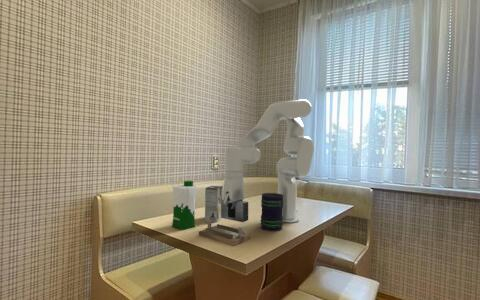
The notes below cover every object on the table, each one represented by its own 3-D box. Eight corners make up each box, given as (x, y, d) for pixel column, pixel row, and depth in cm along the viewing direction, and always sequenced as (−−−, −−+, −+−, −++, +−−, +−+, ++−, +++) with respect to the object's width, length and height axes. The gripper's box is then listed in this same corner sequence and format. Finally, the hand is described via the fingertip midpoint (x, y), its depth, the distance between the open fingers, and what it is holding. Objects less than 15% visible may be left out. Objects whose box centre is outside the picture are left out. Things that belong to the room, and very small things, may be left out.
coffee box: (210, 216, 135) (211, 185, 135) (222, 217, 134) (223, 186, 134) (204, 221, 126) (205, 187, 126) (217, 222, 125) (218, 188, 125)
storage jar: (258, 229, 115) (259, 195, 115) (262, 224, 124) (263, 192, 124) (281, 232, 112) (282, 197, 112) (283, 226, 122) (284, 193, 122)
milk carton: (197, 226, 117) (199, 181, 117) (181, 231, 110) (182, 183, 110) (185, 222, 123) (186, 180, 123) (168, 226, 116) (170, 181, 116)
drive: (226, 215, 122) (226, 198, 121) (248, 220, 115) (248, 201, 114) (221, 217, 118) (220, 200, 118) (243, 222, 111) (243, 203, 111)
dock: (214, 229, 114) (215, 217, 114) (249, 238, 104) (250, 225, 104) (198, 235, 106) (199, 222, 106) (234, 245, 95) (235, 231, 95)
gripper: (238, 172, 125) (238, 211, 125) (215, 176, 111) (215, 219, 112) (251, 173, 121) (251, 213, 121) (229, 177, 107) (229, 222, 107)
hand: (234, 215), depth 116 cm, fingers closed on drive, 4 cm apart
